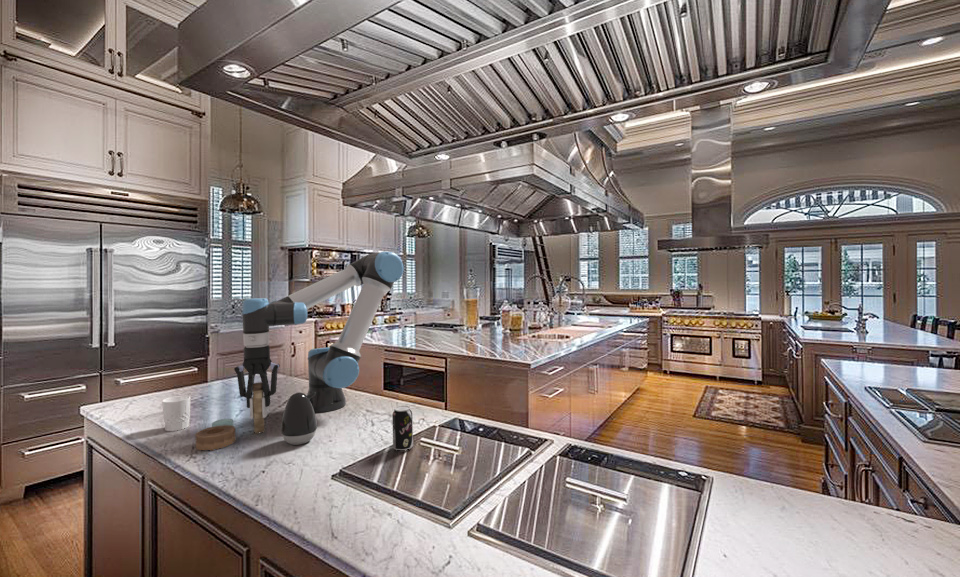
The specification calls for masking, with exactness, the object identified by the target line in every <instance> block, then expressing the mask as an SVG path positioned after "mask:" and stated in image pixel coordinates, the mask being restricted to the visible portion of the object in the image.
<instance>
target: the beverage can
mask: <svg viewBox="0 0 960 577" xmlns="http://www.w3.org/2000/svg"><path fill="white" fill-rule="evenodd" d="M391 419H392V447H393V450H396V451H397V450H407V449H409V450H410V449H412V447H413V446H414V434H413V433H414V432H413V431H414V429H413V424H414V423H413V412H412V410H411V407H410V406H408V405H399V406H396V407H394V410H393V412H392V418H391ZM407 451H408V450H407Z"/></svg>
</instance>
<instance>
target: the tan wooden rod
mask: <svg viewBox="0 0 960 577" xmlns="http://www.w3.org/2000/svg"><path fill="white" fill-rule="evenodd" d="M252 397H253V406H254V418H253V428H254V429H253V430H254V431H253V433H254V432H255V433H254V434H256V433H259V432H263V431H264V432H266V431H265V429H266V428H265V418H263V416H262V398H263V397H264V392H263V387H262V381H261V382H254V384H253V394H252ZM264 432H263V433H264ZM259 434H260V433H259Z"/></svg>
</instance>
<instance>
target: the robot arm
mask: <svg viewBox="0 0 960 577" xmlns="http://www.w3.org/2000/svg"><path fill="white" fill-rule="evenodd" d="M403 274H404V264H403V261H402V258H401V257H400V256H399V255H398V254H396V253H395V252H393V251H380V252H371V253H367V254H366V255H364V256H362V257H360V258H359V259H357V260H355V261H353V262H351V263H348V264H347V265H346V268H344V269H343V270H340V271H338V272H336V273H334V274H331V275H330V276H328V277H324V278H323V279H321V280H319V281H316V282H315V283H312V284H310V285H308V286H307V287H304V288H302V289H300V290H297V291H295V292H293V293H291V294H289V295H287V296H285V297H283V298H279V299H278V300H273V301H271V302H269V300H268V298H266V297H265V298H263V297H258V298H257V297H256V298H245V299H243V301H242V312H241V315H242V331H243V332H242V336H243V337H242V339H243V346H244V347H243V361H242V364H241V365H237V366H235V367H234V369H233V370H234V372H235V373H236V376H237V384H238V390H239V391H238V392H239V397H240V398H245V399H246V408H247V409H249V418H250V420H252V419H253V420H254V406H253V384H254V383H255V377H256V375H259V377H260V380H261V382H262V387H263V396H264V397H263V398H262V416H263V418H264V419H265V418H266V417H267V416H268V407H270V405H271V396H273V395H275V394H276V393H277V387H278V386H277V385H278V371H279V369H280V366H281V365H280V364H279V363H274V362H272V361H273V360H272V359H271V353H270V352H271V349H270V348H271V347H270V345H269V344H270V343H271V342H270V327H275V326H277V327H278V326H293V325H295V326H297V325H301V324H305V323H306V322H307V320H308V310H309V309H310V308H311V307H312V308H313V307H314V306H315V305H318V304H320V303H322V302H324V301H326V300H328V299H331V298H332V297H335V296H336V295H339V294H340V293H342V292H344V291H346V290H348V289H350V288H352V287H354V286H356V287H360V286H362V287H361V289H360V291H359V294H358V296H357V298H356V300H355V302H354V304H353V307H352V308H351V311H350V313H349V315H348V318H347V320H346V322H345V325H344V326H343V328H342V331H341V332H340V334H339V337H338V339H337V341H336V342H335V343H332V344H331V345H330V346H329V347H319V348H312V349H309V351H308V352H307V354H308V355H307V365H308V367H307V368H308V390H307V394H306V396H307V395H309V394H310V393H312V392H315V395H314V396H313V397H311V398H310V399H309V400H310V402H311V404H312V406H313V409H314V412H315V413H321V412H322V413H323V412H331V411H336V410H339V409H341V408H343V407H345V406H346V402H347V401H346V396H345V393H344V390H343V389H344V388H348V387H349V386H351V385H352V384H354V383H355V382H356V381H357V379H358V377H359V374H360V366H359V362H360V359H361V357H362V355H361V352H360V350H361V347H362V345H363V343H364V340H365V338H366V336H367V334H368V331H369V329H370V327H371V325H372V322H373V320H374V318H375V315H376V314H377V311H378V309H379V307H380V306H381V305H380V304H381V302H382V300H383V298H384V296H385V294H386V293H387V292H390V291H391V290H392V287H393V285H394V283H395V282H397V281H398V280H400V279H401V277H402V276H403ZM269 367H270V370H271V376H270V384H269V379H268V372H267V371H268V369H269ZM245 370H246V371H247V374H248V375H247V386H246V380H245V374H244V371H245ZM246 387H247V388H246Z"/></svg>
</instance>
